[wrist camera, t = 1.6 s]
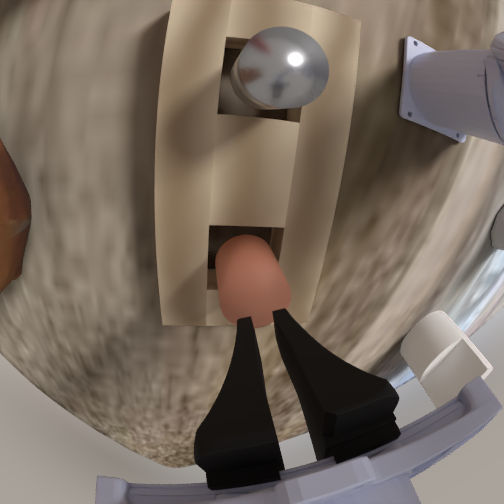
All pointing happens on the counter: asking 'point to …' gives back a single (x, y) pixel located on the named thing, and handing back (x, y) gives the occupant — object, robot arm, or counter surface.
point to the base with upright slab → (442, 357)
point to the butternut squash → (12, 219)
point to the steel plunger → (280, 70)
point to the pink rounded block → (250, 281)
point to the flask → (498, 231)
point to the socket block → (245, 154)
